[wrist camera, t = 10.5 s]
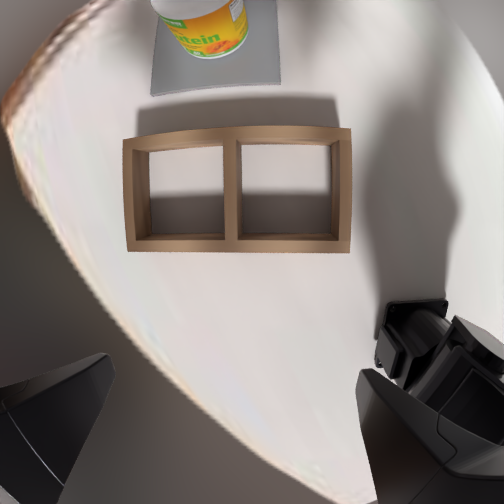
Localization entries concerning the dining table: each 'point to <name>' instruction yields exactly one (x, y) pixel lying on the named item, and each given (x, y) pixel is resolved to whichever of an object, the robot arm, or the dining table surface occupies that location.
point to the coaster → (224, 68)
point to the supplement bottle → (205, 25)
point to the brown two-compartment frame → (236, 191)
